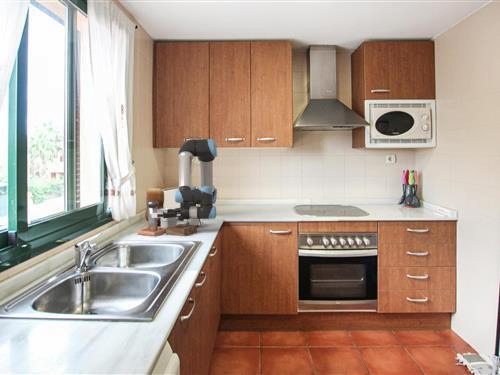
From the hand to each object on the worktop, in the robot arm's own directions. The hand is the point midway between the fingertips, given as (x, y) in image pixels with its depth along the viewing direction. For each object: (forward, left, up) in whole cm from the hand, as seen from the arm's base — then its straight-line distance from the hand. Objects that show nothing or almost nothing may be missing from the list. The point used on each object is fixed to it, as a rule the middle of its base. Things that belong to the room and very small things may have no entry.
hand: (154, 213), depth 214 cm
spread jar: (-27, +10, -12) cm, 31 cm away
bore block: (-8, +14, -12) cm, 20 cm away
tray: (0, -1, -12) cm, 12 cm away
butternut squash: (-21, -17, -12) cm, 29 cm away
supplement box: (-17, -3, -12) cm, 21 cm away
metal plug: (0, -1, -11) cm, 11 cm away
